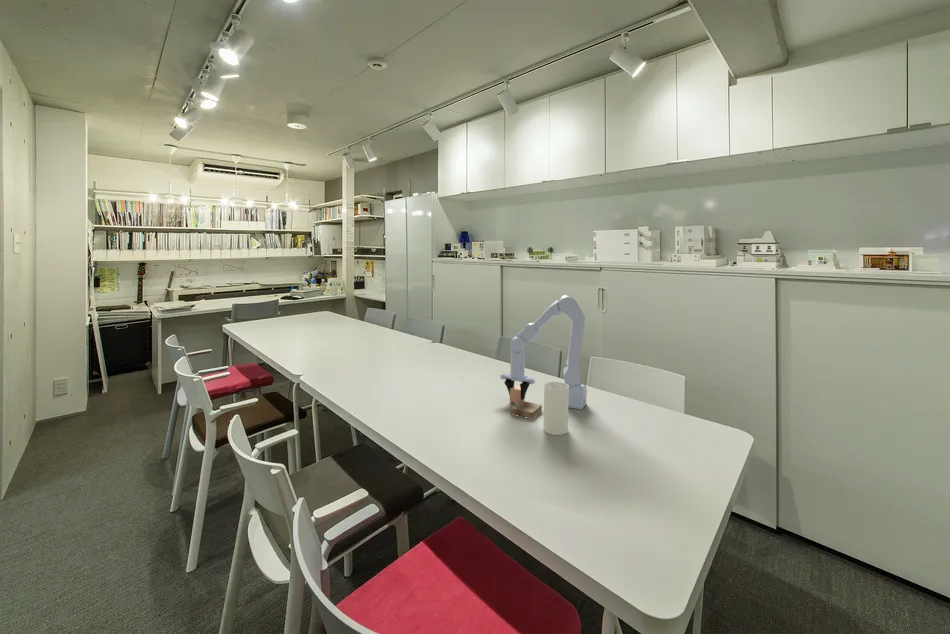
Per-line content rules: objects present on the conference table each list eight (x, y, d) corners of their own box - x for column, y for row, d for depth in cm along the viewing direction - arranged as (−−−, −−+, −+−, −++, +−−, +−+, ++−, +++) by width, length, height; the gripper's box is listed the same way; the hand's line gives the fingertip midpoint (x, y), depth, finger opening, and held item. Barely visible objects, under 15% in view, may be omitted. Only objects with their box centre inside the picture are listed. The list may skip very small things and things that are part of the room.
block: (524, 401, 167) (524, 387, 167) (519, 404, 164) (520, 390, 163) (514, 399, 170) (514, 385, 169) (509, 402, 166) (510, 388, 165)
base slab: (541, 412, 157) (541, 404, 156) (532, 420, 149) (532, 412, 149) (520, 407, 161) (520, 400, 161) (510, 415, 154) (510, 408, 153)
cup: (564, 424, 144) (565, 381, 141) (570, 434, 136) (571, 389, 133) (541, 425, 144) (542, 381, 141) (546, 435, 136) (547, 389, 133)
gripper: (497, 366, 165) (497, 397, 167) (530, 370, 157) (529, 404, 159) (504, 362, 171) (504, 392, 173) (537, 366, 163) (536, 398, 165)
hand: (517, 397), depth 166 cm, fingers closed on block, 4 cm apart
